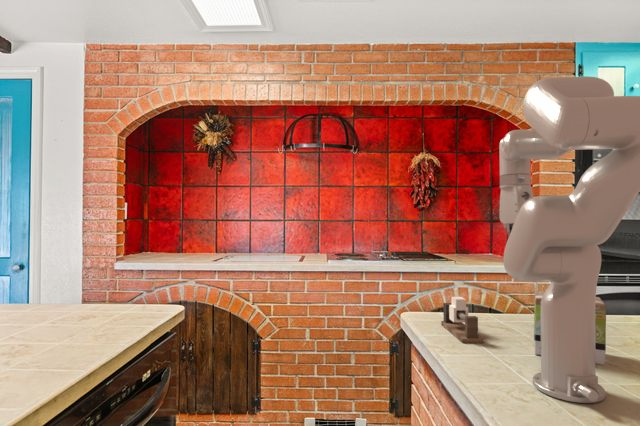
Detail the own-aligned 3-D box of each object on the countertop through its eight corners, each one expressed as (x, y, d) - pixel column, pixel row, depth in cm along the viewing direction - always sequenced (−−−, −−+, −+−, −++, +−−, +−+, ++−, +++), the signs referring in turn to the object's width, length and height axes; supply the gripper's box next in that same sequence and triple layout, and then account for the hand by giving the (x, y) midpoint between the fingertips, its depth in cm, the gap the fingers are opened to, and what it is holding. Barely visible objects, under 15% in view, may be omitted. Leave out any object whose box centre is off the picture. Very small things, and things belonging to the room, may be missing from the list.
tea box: (534, 355, 101) (534, 297, 101) (533, 344, 109) (533, 290, 109) (606, 366, 94) (606, 303, 94) (600, 352, 102) (599, 295, 102)
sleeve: (468, 322, 119) (468, 299, 119) (453, 322, 119) (453, 299, 119) (463, 318, 123) (463, 296, 123) (449, 318, 123) (449, 296, 123)
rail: (483, 342, 111) (483, 316, 111) (462, 342, 111) (462, 316, 111) (459, 324, 129) (459, 301, 129) (441, 324, 129) (441, 302, 129)
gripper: (545, 179, 100) (546, 252, 100) (513, 185, 115) (514, 248, 115) (517, 179, 100) (518, 252, 99) (488, 185, 115) (489, 248, 114)
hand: (516, 250), depth 107 cm, fingers closed
